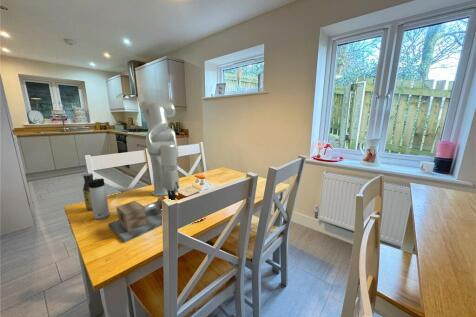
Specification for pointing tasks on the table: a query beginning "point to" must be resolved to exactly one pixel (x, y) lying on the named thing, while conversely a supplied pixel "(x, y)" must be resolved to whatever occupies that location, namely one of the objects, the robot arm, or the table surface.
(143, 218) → the housing
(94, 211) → the travel mug
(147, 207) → the shaft
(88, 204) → the sauce bottle
